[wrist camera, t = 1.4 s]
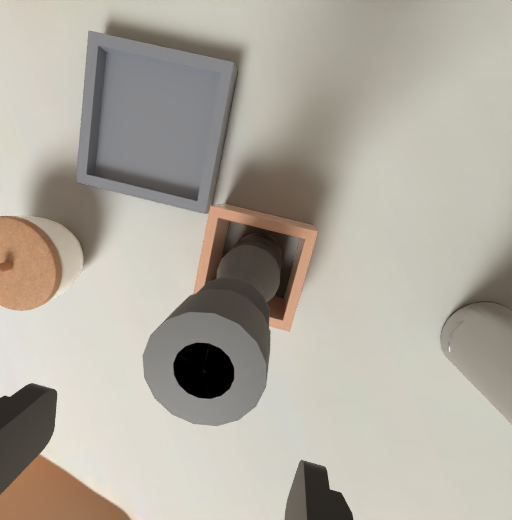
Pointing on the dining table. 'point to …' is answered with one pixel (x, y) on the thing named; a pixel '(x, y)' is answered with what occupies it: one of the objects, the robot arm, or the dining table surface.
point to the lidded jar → (36, 261)
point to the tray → (153, 121)
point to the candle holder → (218, 339)
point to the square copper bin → (222, 213)
